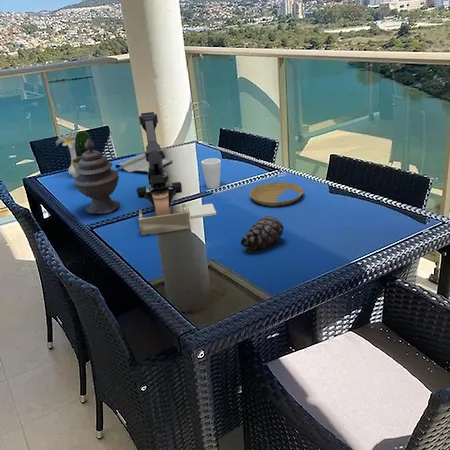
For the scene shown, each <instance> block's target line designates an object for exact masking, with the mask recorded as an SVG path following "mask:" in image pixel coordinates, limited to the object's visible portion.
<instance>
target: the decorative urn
mask: <svg viewBox="0 0 450 450" xmlns="http://www.w3.org/2000/svg"><path fill="white" fill-rule="evenodd" d="M85 148H86V149H88V151H86V152H85V153H83V154H82V156H81V158H82V159H81V160H80V161H79V163H78V165H79V167H77V168H76V169H75V172H76V173H79V175H78V176H77V177H74V179H73V183H74V187H76V189H77V190H78V192H79V193H81V194H82V195H83V196H85V197H87V198H90V199H91V203H90V204H89V205H87V206H86V208H85V211H86V213H89V214H91V215H96V214H97V215H106V214H110V213H113V212H115V211H116V210H117V209H118V208H119V207H120V203H121V202H120V201H119V200H116V199H115V200H114V199H112V198H111V195H112V194H113V193H114V192H115V190H116V188H117V187H118V182H119V178H120V176H119V171H118V170H115V169H112V168H113V167H112V166H113V165H114V163H113V162H111V161H108V158H107V156H105V155H103V154H102V153H101V152H100V151H98V150H94V148H95V142H94V141H93V140H92V139H91V140H90V139H89V138H88V140H87V141H86V143H85Z"/></svg>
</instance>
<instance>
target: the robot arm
mask: <svg viewBox="0 0 450 450" xmlns="http://www.w3.org/2000/svg"><path fill="white" fill-rule="evenodd" d="M138 119H139V125H140V126H141V128H142V129H143V130H144V132H145V134H146V139H147V144H146V146H145V151H146V152H145V153H144V154H145V156H146V161H148V162H149V172H148V173H147V178H148V184H149V185H150V188H147V186H139V187H137V188H136V194H137V198H138V199H145V200H147V201H149V203H150V204H151V206H152V208H153V210H154V211H155V205H154V198H153V196H152V194H153V193H156V192H159V191H166V192H168V195H169V196H168V200H169V208H170V209H171V206H172V202H173V198H174V196H177V194H181V193H183V186H182V183H181V182H180V181H175V182H171V185H167V182H169V174H168V171H166V170H164V166H163V162H162V159H165V158H166V155H165V152H164V151H163V150H162V148H161V145H160V144H159V143H158V141H157V135H156V128H157V125H158V123H159V119H158V114H157V113H155V112H154V111H150V112H141V114H140V115H139V116H138Z"/></svg>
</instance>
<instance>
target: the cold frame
mask: <svg viewBox="0 0 450 450" xmlns="http://www.w3.org/2000/svg"><path fill="white" fill-rule="evenodd" d="M181 205H182V211H181V212H176V213H170V214H168V215H161V216H156V215H155V216H148V217H143V216H144V215H143V210H142V209H139V210H138V217H139V218H138V223H139V224H138V225H139V231H140V236H141V235H143V236H146V235H145V234H150V235H156V234H163V233H168V232H169V233H170V232H175V231H183V230H189V229H191V222H190V221H191V220H190V213H189V211H188V210H187V209H188V208H187V207H186V203H181Z"/></svg>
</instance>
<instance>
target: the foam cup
mask: <svg viewBox="0 0 450 450" xmlns="http://www.w3.org/2000/svg"><path fill="white" fill-rule="evenodd" d="M200 163H201V165H200V166H201V168H202V171H203V176H204V179H205V180H204V181H205V184H206V188H207V189H218V188H219V187H221V186H220V185H221V166H222V160H221V159H219V158H213V157H212V158H206V159H203V160H202V161H201V162H200Z"/></svg>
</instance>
